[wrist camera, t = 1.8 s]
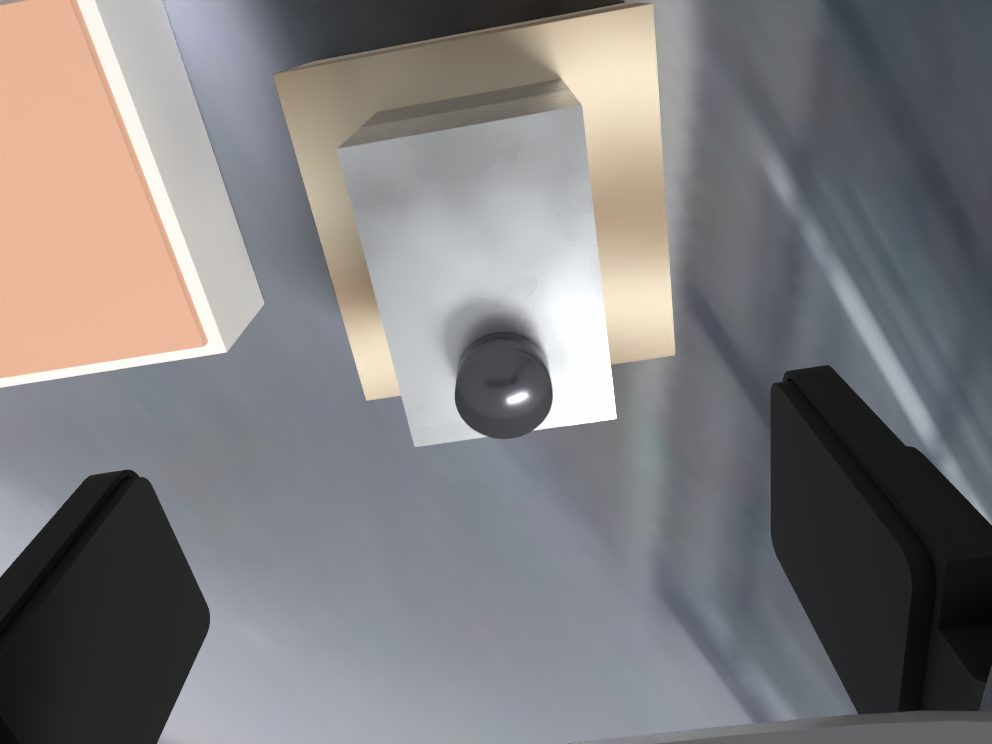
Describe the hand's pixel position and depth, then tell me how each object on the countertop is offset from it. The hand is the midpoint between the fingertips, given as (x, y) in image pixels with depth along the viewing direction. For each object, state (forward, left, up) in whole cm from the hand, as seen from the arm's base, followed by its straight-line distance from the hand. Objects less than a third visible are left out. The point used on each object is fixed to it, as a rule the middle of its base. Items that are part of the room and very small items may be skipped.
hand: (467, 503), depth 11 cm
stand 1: (-3, -16, -19) cm, 25 cm away
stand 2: (0, 0, -19) cm, 19 cm away
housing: (0, 0, -14) cm, 14 cm away
